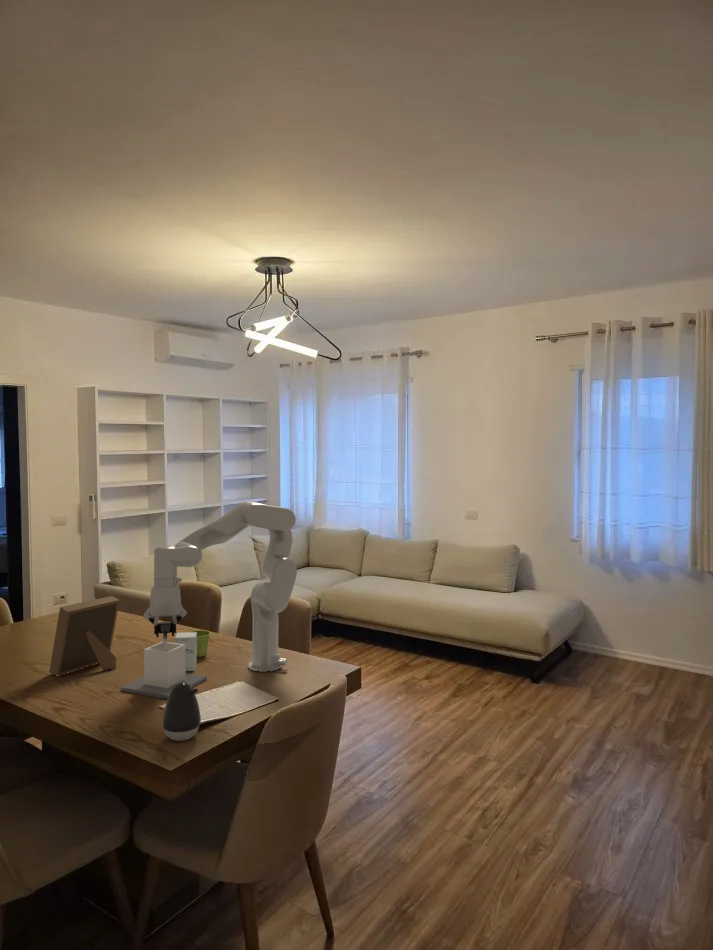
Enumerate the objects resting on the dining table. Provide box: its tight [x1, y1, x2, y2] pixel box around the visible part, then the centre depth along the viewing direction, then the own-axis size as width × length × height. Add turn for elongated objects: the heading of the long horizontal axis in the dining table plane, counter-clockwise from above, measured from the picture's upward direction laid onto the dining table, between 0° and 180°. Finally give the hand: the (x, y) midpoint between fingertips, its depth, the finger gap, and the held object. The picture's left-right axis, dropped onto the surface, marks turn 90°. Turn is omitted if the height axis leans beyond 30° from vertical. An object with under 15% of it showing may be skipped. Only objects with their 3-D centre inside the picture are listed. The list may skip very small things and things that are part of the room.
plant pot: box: [190, 629, 212, 658], centre depth 248 cm, size 9×9×9 cm
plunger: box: [158, 621, 172, 651], centre depth 214 cm, size 7×7×17 cm
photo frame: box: [49, 595, 120, 676], centre depth 229 cm, size 15×22×25 cm
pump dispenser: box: [162, 682, 202, 742], centre depth 175 cm, size 10×10×15 cm
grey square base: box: [120, 641, 208, 700], centre depth 215 cm, size 20×20×13 cm
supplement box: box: [174, 631, 197, 672], centre depth 232 cm, size 7×7×13 cm
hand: (165, 635), depth 214 cm, fingers closed on plunger, 4 cm apart
